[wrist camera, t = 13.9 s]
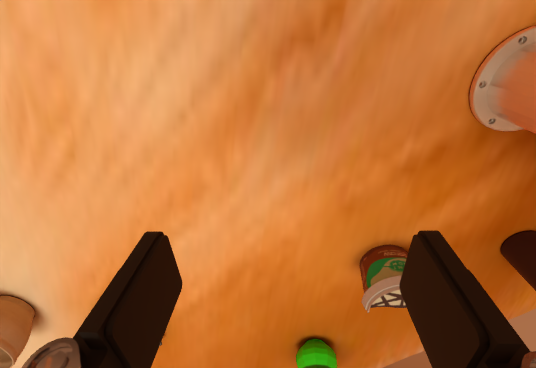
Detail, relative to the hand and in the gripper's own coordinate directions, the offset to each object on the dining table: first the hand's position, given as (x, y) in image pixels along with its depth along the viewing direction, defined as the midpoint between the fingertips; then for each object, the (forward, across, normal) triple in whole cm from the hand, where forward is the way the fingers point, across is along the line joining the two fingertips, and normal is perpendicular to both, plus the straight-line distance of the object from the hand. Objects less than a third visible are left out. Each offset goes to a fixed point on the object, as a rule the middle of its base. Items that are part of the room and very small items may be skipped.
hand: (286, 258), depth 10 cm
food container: (+31, -18, +30) cm, 46 cm away
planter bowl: (+31, +68, +49) cm, 89 cm away
